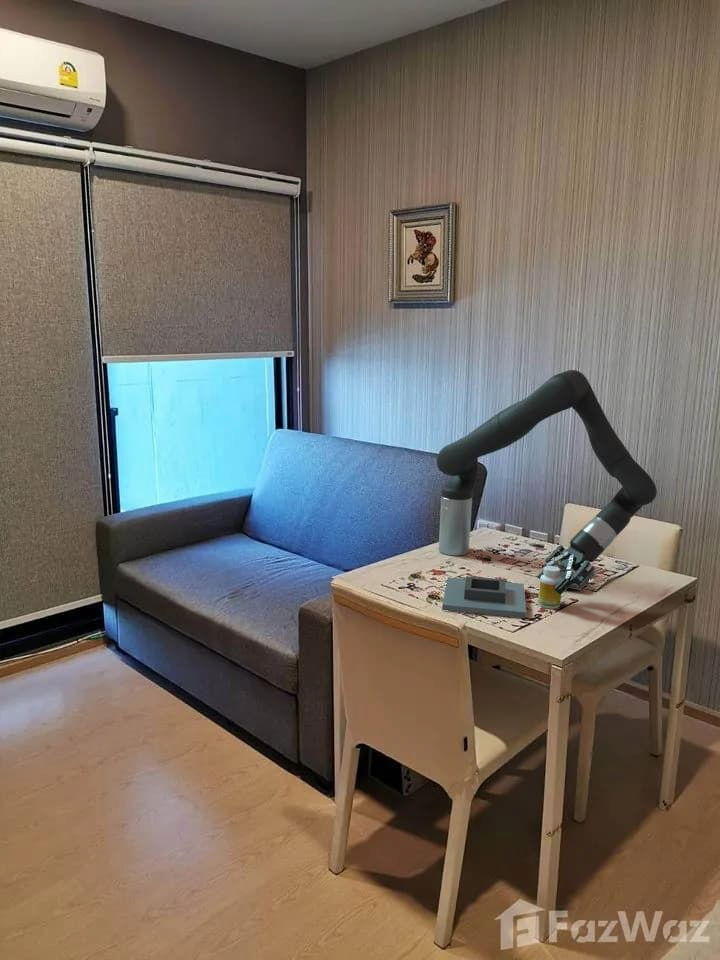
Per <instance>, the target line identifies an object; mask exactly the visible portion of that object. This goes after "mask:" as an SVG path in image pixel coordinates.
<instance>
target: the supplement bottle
mask: <svg viewBox="0 0 720 960" xmlns="http://www.w3.org/2000/svg"><path fill="white" fill-rule="evenodd" d="M555 566H556V565H554V566H547V565H545V566H543V569H544V570H543V569H542V570H543V573H544V575H542V576H541V577H540V579H539V586H538V587H539V588H538V601H537V605H538V606H540V607H541V608H545V609H549V610H551V609H558V608H560V607H561V600H562V599H561V597H562V594H558V593H557V592H556V591H555V589H554V588H555V587H556V585H557V584H558V583H559V582H560V581H561V580H562V578H561V577H560V576H559V575H560V568H558V567H555Z"/></svg>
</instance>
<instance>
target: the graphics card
mask: <svg viewBox="0 0 720 960" xmlns="http://www.w3.org/2000/svg"><path fill="white" fill-rule="evenodd" d="M554 566H557V565H556V564H555V565H554ZM592 566H593V567H594V569H593V571H592V572H591V573H590V574H589V575H588V576H587V577H586V578H585V579H584V581H583V582H582V583H581V584H580V585H577V584H571V585H570V586H569V587H568V588H569V589H574V590H579V591H582V589H581V588H585V586H586V585H587V584H588V581H589V579H593V578H594V575H595V576H596V575H597V574H596V572H597V571H596V570H597V569H596V568H597V565H595V566H594V565H593V564H592ZM566 574H567V570H566V569H562V570H561V569H560V575H559V576H560V577H561V578H562V579H563V578H565V579H566ZM580 577H581V574H580V575H579V577H577V578H578V579H579V578H580ZM568 588H567V589H568Z"/></svg>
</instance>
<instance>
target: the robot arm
mask: <svg viewBox="0 0 720 960" xmlns="http://www.w3.org/2000/svg"><path fill="white" fill-rule="evenodd" d="M571 408H572V409H573V410H574V412H576V413H577V415H578V416H579V418H580V419H581V421H582V422H583V425H584V427H585V429H586V433H587V436H588V440H589V443H590V446H591V448H592V450H593V452H594V454H595V456H596V458H597V459H598V461H599V462H600V463H601V465H602V466H603V468H604V469H605V471H606V472H607V473H608V475H610V476H611V477H612V478H615V479H616V480H617V481H618V483H619V484H620V485H621V488H620V489H619V490H618V491H617V493H616V494H615V495H614V497H612V499H611V500H610V502H609V503H607V504H606V505H605V506H604V507H602V509H601V510H600V511H599V512H598V513H597V514H596V515H595V516H594V517H593V518H592V519H590V520H589V521H588V522H587V523H585V525H584V526H583V527H582V528H581V529H580V530H579V531H578V532H577V533H576V534H575V535H574V536H573V537H572V538H571V539H570V541H569V544H570V545H569V546H568V548H565V547H564V546H563V545H562V544H561V545H559V546H557V547H556V549H555V550H553V551H552V552H551V554H549V555H547V557H546V558H545V559H544V562H545V563H546V564H545V565H546V566H555V567H558V568H560V569H561V570H562V569H566V570H567V574H566V579H565V578H563V579H562V580H561V581H560V582H559V583H558V584H557V585H556V587H555V588H554V589H555V591H556V592H557V593H558V594H561V595H562V594H563V593H564V592H565V591H567V590H568V587H569V586H570V585H571V584H577V585H580V584H581V583H582V582H583V581H584V579H585V578H586V577H587V576H588V575H589V574H590V573H591V572H592V571H593V569H594V567H595V566H594V565H593V564H592V563H594V562H595V561H596V560H597V558H599V557H600V556H601V555H602V554H603V553H604V551H605V550H606V549H607V548H609V546H611V544H612V543H613V542H614V540H615V539H616V538H617V537H618V535H619V534H620V533H621V532H622V531H623V530H624V529H625V528H626V527H627V526H628V525H629V523H631V520H632V517H634V515H635V514H637V512H639V510H641V509H642V508H643V507H644V506H646V505H647V506H648V505H649V504H651V503H653V502H654V500H655V499H656V497H657V494H658V490H657V489H658V488H657V486H656V483H655V482H654V480H653V478H651V476H650V474H648V473H647V471H645V470H644V468H642V467H641V465H640V464H638V462H637V461H636V460H635V459H634V458H633V456H632V454H631V453H630V452H629V450H628V449H627V447H626V446H625V445H624V443H623V442H622V441H621V439H620V438H619V436H618V435H617V433H616V431H615V430H614V429H613V426H612V425H611V423H610V421H609V419H608V418H607V416H606V414H605V411H604V410H603V408H602V406H601V404H600V402H599V401H598V399H597V396H596V394H595V391H594V390H593V388H592V386H591V383H590V382H589V380H588V378H587V377H586V376H585V375H584V374H583V373H582V372H581V371H579V370H576V369H568V370H565V371H563V372H560V373H557V374H555V375H552V376H551V377H550V378H548V379H547V380H546V381H545V382H544V383H543V384H541V385H540V386H539V387H538V388H537V389H536V390H534V391H533V392H532V393H531V394H530V395H528V396H527V397H525V398H523V399H521V400H520V401H517V402H515V403H514V404H511V405H509V406H508V407H506V408H504V409H503V410H502V409H501V411H499V412H498V413H496V414H495V415H494V416H492V417H490V418H489V419H488V420H487V421H485V422H483V423H482V424H480V425H479V426H477V427H476V428H475V429H474V430H472V431H471V432H469V433H468V434H467V435H465V436H462V438H460V439H458V440H455V441H453V442H451V443H448V444H447V445H445V446H444V447H442V448H441V449H440V450H439V453H438V455H437V458H436V465H437V468H438V470H439V471H440V472H441V473H442V474H444V475H446V476H450V478H449V480H447V482H446V483H445V484H444V485H443V486H442V488H441V492H440V493H441V494H440V496H441V497H440V514H439V516H440V517H439V518H440V519H439V532H438V533H439V537H438V538H439V539H438V551H439V553H442V554H445V555H449V556H464V555H467V554H469V553H470V539H471V523H472V522H471V521H472V506H473V492H474V490H475V488H476V485H477V476H478V474H477V473H478V467H479V465H478V464H479V458H480V457H483V456H487V455H489V454H492V453H495V452H498V451H500V450H502V449H505V448H508V447H509V446H511V445H513V444H514V443H516V442H518V441H519V440H521V439H522V438H524V437H525V436H526V435H527V434H528V433H530V432H531V431H532V430H533V429H534V428H535V427H536V426H537V425H538V424H539V423H541V422H542V421H544V420H545V419H548V418H550V417H552V416H553V415H557V414H558V413H560V412H563V411H566V410H569V409H571ZM555 564H556V565H557V566H556V565H555ZM592 565H593V566H594V567H593V566H592ZM543 570H544V568H543V569H542V570H541V571H540V572H539V574H538V575H537V578H538V579H539V580H540V577H541V576H542V575H544V573H543ZM580 574H581V577H580V578H579V579H578V578H577V577H579V575H580Z"/></svg>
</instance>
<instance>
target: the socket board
mask: <svg viewBox="0 0 720 960" xmlns="http://www.w3.org/2000/svg"><path fill="white" fill-rule="evenodd" d="M465 576H466V577H465V578H461V577H449V576H448V577H447V579H446V585H445V589H444V595H443V600H442V604H441V605H442V606H441V607H442V608H441V611H442V610H448V611H447V612H453V611H454V612H456V613H464V612H465V613H467V614H475V613H480V614H479V615H485V614H488V616H496V615H498V616H500V617H506V618H507V617H508V618H509V617H510V618H518V619H527V606H526V605H527V603H526V594H525V586H524V585H525V584H524V583H521V582H519V583H518V582H509V581H508V582H507V581H506V579H503V578H492V577H491V578H490V577H480V576H479V577H478V576H470V575H465ZM454 612H453V613H454ZM465 613H464V614H465ZM498 616H497V617H498Z"/></svg>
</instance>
